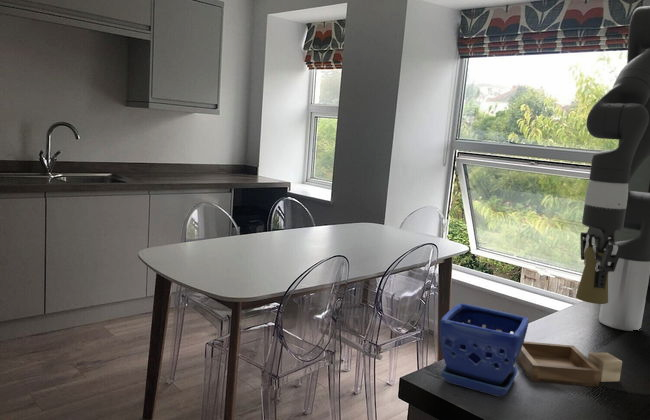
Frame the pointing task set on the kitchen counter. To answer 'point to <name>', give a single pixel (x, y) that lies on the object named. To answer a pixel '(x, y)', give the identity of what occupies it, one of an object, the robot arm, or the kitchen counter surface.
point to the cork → (591, 281)
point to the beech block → (606, 366)
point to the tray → (557, 364)
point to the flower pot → (481, 347)
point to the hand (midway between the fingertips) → (593, 285)
